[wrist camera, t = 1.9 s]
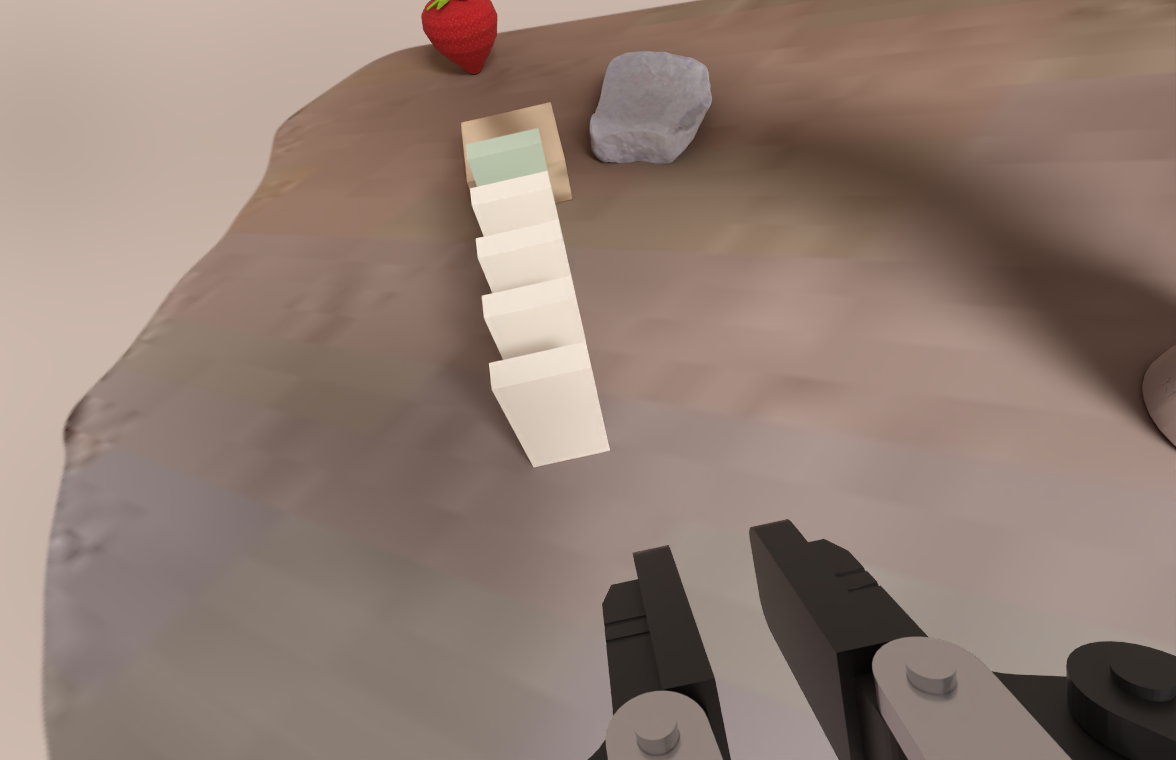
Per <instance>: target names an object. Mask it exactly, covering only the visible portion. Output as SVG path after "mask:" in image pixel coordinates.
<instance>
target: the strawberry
mask: <svg viewBox="0 0 1176 760" xmlns="http://www.w3.org/2000/svg"><path fill="white" fill-rule="evenodd" d="M422 24H423V30H424V32H425V34H426V35H427V37H428V38H429V40H430V41H431V43H432V44H433V45H434V47H435V48H436V49H437V50H438V51H440V52H441V53H442V54H443V55H445V56H446V57H447V58H448V59H449V60H451V61H452V62H454V63H456V64H457V65H459V66H461V67H462V68H463V69H465V70H466V71H467V72H469V73H471V74H477V73H478V72H480V71H481V69H482V67H483V64H484V62H485V60H486V59H487V57H488V55H489V53H490V51H491V48H492V46H493V43H494V41H495V38H496V36H497V13H496V11H495V9H494V7H493V5H492V2H491V1H490V0H431V1H429V2H428V3H427V5H426V6H425V9H424V10H423V13H422Z"/></svg>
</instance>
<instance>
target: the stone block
mask: <svg viewBox="0 0 1176 760" xmlns="http://www.w3.org/2000/svg"><path fill="white" fill-rule="evenodd" d="M711 103H712V95H711V91H710V82H709V73H708V70H707V68H706V66H705V65H703V64H702V63H700V62H699V61H697V60H695V59H693V58H691V57H683V56H679V55H673V54H670V53H667V52H664V51H662V52H649V51H641V52H629V53H625V54H623V55H620V56H619V57H615V58H614V59H613V60H612V61H611V62H610V64H609V65H608V67H607V71H606V75H605V77H604V81H603V85H602V91H601V96H600V100H599V104H598V106H597V108H596V112H595V113H594V114H593V115H592V117H591V120H590V137H591V151H592V152H593V153H594V155H595V156H596V157H597V158H598V159H599V160H600V161H601V162H602V163H606V162H617V163H623V162H634V161H645V162H650V163H661V164H668V163H672V162H673V161H674V160H675V159H676V158H677V157H678V156H679V155H680V154H681V153H682V152H683V151H684V150H685V149H686V148H687V146H688V145H689V144H690V142H691V141H692V140H693V139H694V136H695V134H696V133H697V130H698V128H699V126H700V124H701V123H702V120H703V119H704V117H705V113H706V112H707V111H708V110H709V107H710V105H711Z"/></svg>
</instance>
